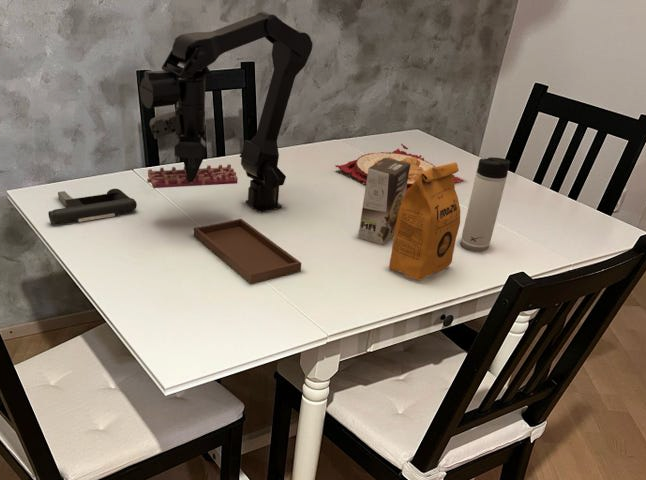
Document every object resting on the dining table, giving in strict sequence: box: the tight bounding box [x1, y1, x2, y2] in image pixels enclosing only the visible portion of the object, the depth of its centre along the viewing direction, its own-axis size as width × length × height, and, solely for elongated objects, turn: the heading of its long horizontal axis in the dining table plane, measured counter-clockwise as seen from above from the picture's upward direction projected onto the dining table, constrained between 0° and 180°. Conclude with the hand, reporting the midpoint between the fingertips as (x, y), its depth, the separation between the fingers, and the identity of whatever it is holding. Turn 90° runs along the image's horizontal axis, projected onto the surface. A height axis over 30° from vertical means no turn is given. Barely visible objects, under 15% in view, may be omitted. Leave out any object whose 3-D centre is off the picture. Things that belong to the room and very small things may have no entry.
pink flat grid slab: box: [146, 163, 238, 189], centre depth 162 cm, size 7×19×2 cm, turn 106°
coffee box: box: [357, 158, 411, 246], centre depth 163 cm, size 9×6×16 cm
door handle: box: [47, 188, 138, 224], centre depth 170 cm, size 3×20×16 cm
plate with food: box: [334, 143, 464, 194], centre depth 198 cm, size 24×26×3 cm
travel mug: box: [459, 156, 511, 253], centre depth 159 cm, size 6×7×20 cm
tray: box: [193, 218, 302, 285], centre depth 156 cm, size 12×24×2 cm, turn 32°
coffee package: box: [388, 162, 461, 281], centre depth 148 cm, size 10×12×22 cm
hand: (190, 175), depth 162 cm, fingers closed on pink flat grid slab, 7 cm apart
